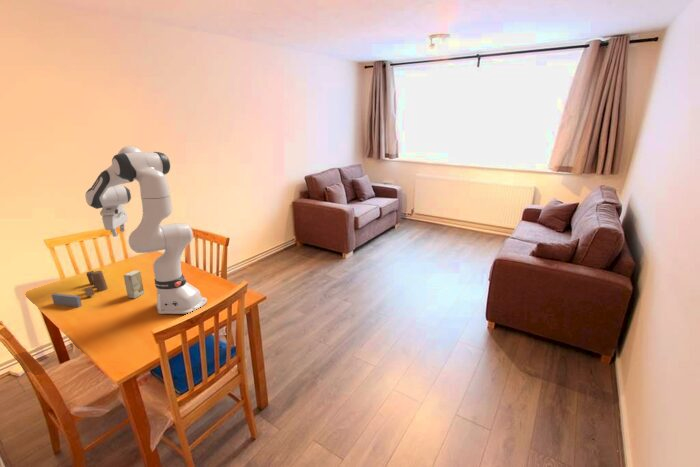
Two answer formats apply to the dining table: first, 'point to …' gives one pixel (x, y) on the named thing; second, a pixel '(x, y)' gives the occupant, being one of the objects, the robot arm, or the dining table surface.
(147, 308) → the dining table surface
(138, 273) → the skincare box
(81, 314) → the dining table surface
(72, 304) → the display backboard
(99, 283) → the wooden block set
